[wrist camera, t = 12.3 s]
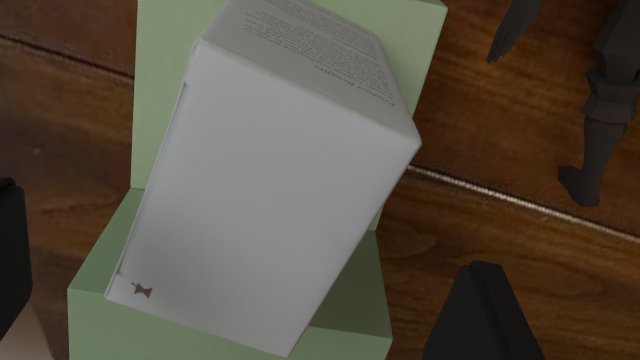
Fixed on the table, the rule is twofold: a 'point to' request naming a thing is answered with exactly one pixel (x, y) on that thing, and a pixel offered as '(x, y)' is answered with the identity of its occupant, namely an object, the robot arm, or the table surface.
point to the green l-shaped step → (148, 132)
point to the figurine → (592, 88)
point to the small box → (266, 174)
